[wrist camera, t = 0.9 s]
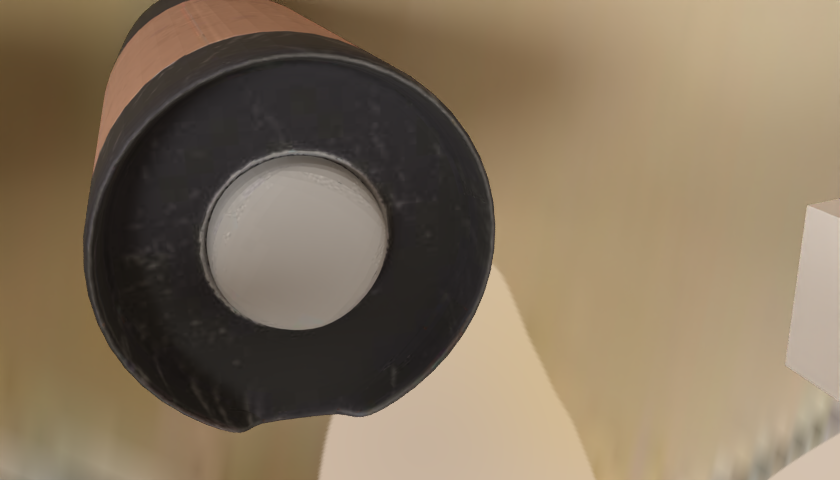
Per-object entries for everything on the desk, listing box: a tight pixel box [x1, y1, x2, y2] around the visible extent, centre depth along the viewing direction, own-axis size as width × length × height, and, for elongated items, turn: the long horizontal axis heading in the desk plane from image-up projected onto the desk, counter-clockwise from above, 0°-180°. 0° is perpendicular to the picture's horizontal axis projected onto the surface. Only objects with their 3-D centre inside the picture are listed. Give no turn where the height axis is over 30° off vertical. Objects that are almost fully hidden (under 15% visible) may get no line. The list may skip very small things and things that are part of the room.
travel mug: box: [83, 0, 495, 433], centre depth 23 cm, size 8×8×20 cm
